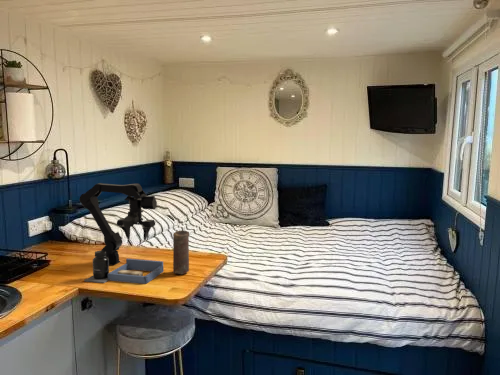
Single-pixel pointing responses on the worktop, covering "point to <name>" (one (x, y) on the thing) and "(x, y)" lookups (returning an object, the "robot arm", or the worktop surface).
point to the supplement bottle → (100, 265)
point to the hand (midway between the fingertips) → (136, 239)
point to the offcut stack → (130, 272)
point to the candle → (181, 252)
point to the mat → (96, 280)
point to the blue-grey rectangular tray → (137, 265)
